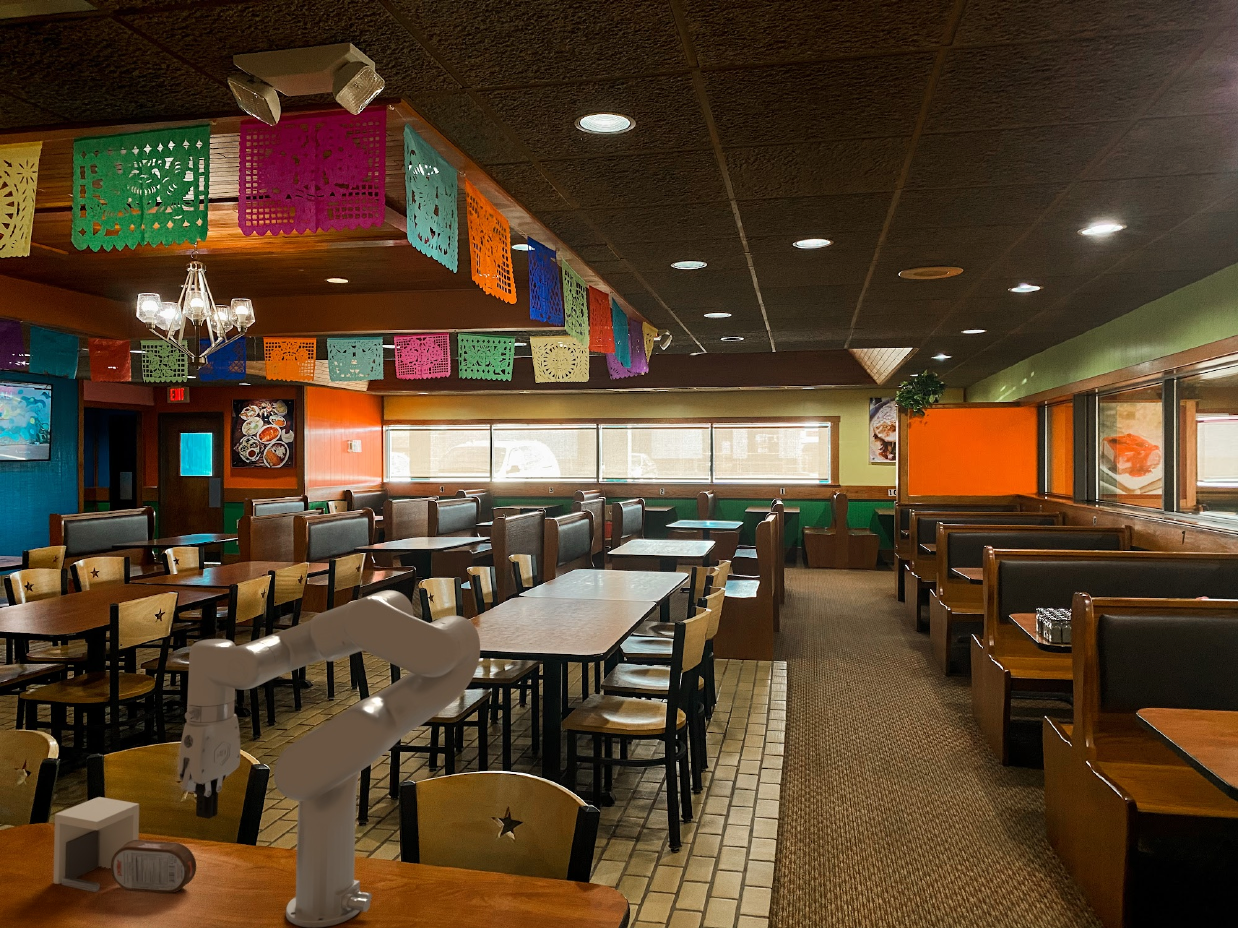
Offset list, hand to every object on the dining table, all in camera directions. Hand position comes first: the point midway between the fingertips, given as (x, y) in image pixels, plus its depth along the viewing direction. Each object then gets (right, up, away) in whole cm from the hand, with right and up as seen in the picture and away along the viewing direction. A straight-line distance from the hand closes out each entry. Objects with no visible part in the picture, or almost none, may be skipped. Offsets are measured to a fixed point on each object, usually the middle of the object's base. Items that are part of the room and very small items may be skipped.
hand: (206, 815), depth 152 cm
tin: (-12, -15, +4) cm, 19 cm away
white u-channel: (-24, -15, +8) cm, 30 cm away
